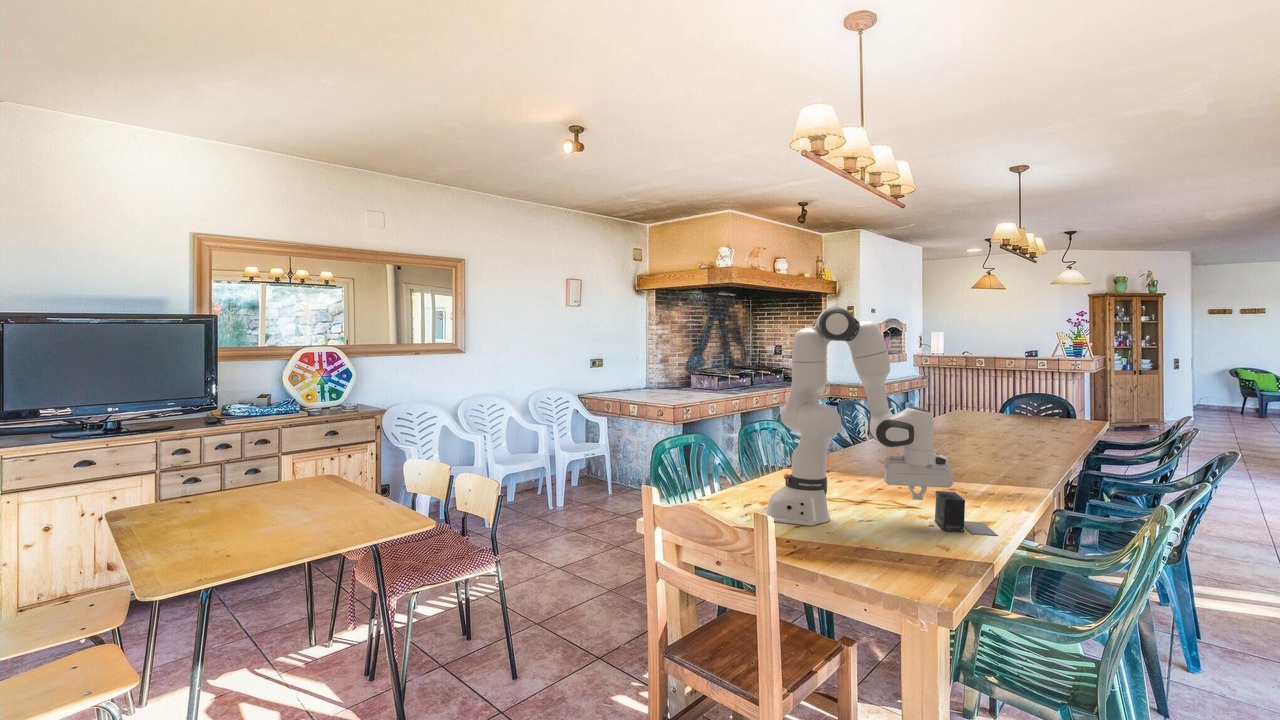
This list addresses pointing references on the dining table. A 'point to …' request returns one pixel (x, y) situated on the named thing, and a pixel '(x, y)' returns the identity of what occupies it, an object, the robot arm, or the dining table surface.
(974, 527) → the mat
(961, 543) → the dining table surface
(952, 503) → the small box
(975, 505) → the dining table surface
